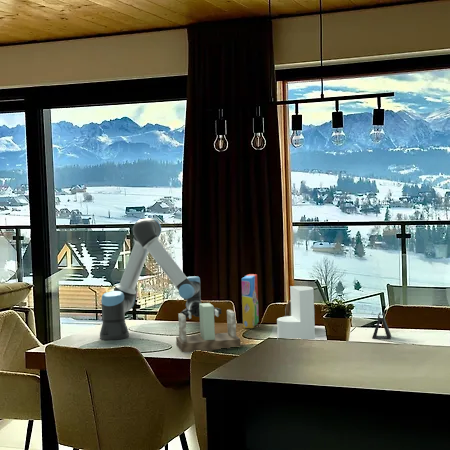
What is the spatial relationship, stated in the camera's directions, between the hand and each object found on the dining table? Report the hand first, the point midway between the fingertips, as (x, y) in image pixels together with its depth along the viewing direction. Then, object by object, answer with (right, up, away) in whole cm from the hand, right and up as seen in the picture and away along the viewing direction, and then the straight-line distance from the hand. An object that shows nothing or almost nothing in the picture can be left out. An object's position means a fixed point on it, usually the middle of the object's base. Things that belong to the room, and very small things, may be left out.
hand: (204, 315), depth 368 cm
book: (+2, -10, -6) cm, 12 cm away
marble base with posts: (+2, -14, -6) cm, 16 cm away
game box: (+25, -11, +46) cm, 53 cm away
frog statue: (+49, -11, +25) cm, 57 cm away
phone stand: (+87, -11, -1) cm, 88 cm away
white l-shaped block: (+44, -13, -19) cm, 49 cm away
